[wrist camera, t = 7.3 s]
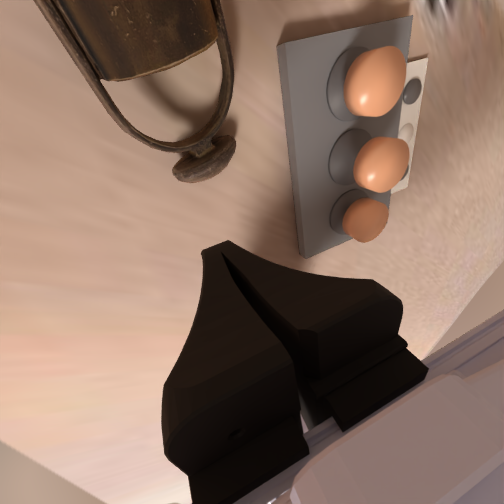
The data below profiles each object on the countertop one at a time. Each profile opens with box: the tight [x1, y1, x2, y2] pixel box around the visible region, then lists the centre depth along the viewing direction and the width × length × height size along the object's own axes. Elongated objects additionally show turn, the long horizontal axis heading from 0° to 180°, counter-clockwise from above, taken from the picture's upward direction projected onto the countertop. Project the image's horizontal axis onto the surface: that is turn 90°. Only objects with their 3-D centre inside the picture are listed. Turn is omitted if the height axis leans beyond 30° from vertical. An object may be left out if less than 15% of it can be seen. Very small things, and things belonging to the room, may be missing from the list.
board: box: [277, 15, 413, 259], centre depth 23 cm, size 18×11×2 cm, turn 12°
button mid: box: [353, 136, 410, 193], centre depth 20 cm, size 4×4×3 cm
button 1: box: [342, 197, 389, 243], centre depth 24 cm, size 4×4×3 cm
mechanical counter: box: [34, 0, 236, 183], centre depth 13 cm, size 7×13×10 cm
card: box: [391, 58, 428, 194], centre depth 25 cm, size 12×3×1 cm, turn 12°
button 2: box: [344, 46, 406, 117], centre depth 18 cm, size 4×4×3 cm
